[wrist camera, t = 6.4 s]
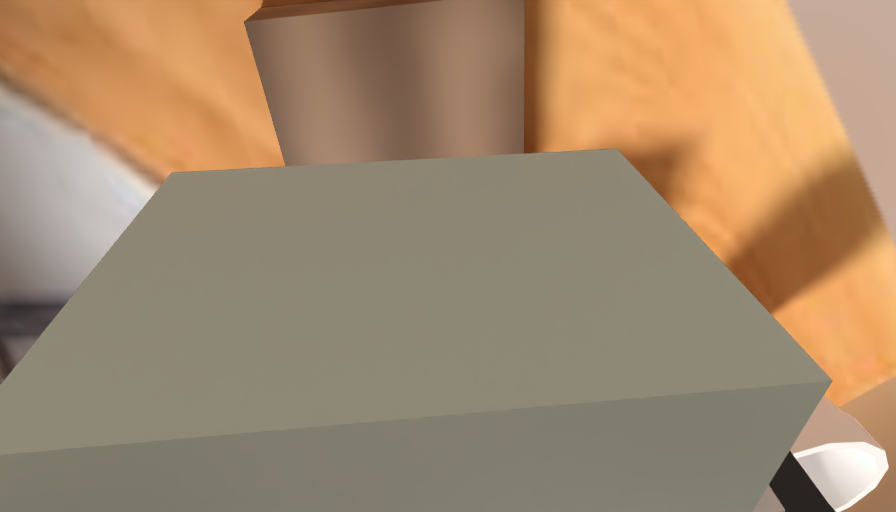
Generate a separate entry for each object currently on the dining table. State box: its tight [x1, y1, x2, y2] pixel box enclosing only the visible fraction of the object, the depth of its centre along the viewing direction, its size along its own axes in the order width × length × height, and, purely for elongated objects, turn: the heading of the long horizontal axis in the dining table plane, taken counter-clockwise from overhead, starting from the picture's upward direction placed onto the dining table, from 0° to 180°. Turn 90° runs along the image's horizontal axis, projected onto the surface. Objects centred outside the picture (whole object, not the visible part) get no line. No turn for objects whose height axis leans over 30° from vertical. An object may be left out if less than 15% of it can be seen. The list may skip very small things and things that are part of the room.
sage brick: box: [0, 149, 832, 512], centre depth 11 cm, size 10×10×7 cm
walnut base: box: [244, 0, 525, 166], centre depth 27 cm, size 12×12×4 cm
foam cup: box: [790, 395, 888, 512], centre depth 35 cm, size 10×9×13 cm
